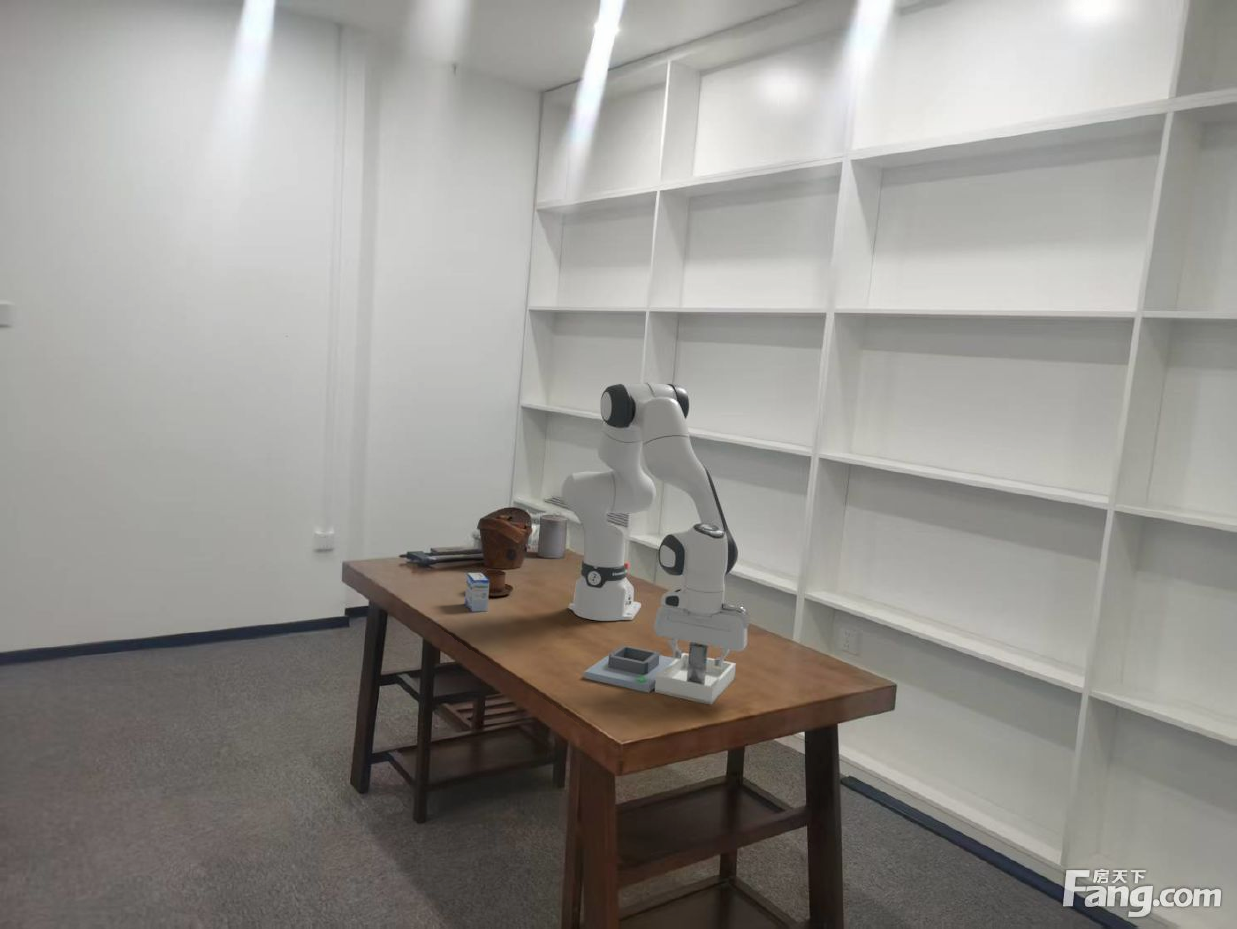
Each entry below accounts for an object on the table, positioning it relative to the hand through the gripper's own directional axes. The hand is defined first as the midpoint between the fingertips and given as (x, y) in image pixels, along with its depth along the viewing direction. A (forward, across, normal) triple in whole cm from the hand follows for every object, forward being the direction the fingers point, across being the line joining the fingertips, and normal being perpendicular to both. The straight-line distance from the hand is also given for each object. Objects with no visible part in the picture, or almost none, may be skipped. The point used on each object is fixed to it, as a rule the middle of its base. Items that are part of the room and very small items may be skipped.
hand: (697, 662), depth 191 cm
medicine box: (+5, +69, -22) cm, 73 cm away
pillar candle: (+6, +82, -92) cm, 123 cm away
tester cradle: (+5, +15, 0) cm, 16 cm away
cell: (+4, 0, 0) cm, 5 cm away
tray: (+5, 0, 0) cm, 5 cm away
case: (+6, +88, -69) cm, 112 cm away
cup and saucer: (+6, +73, -37) cm, 82 cm away
